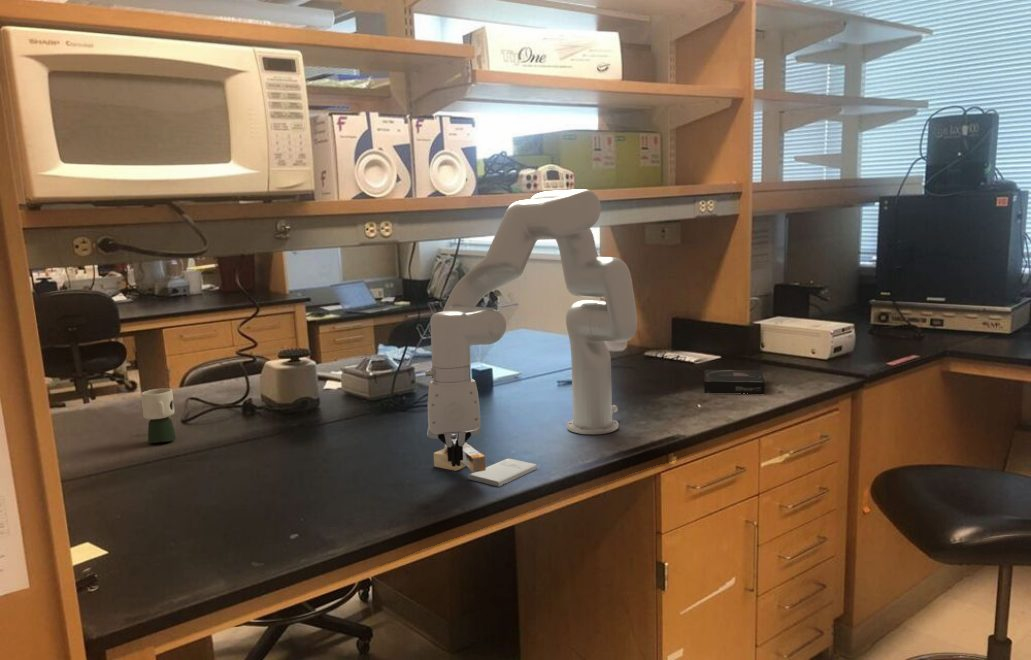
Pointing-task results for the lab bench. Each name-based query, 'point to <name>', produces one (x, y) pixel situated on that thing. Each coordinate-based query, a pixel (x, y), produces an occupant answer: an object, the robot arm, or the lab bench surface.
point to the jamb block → (445, 461)
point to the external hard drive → (503, 472)
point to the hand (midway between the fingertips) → (455, 464)
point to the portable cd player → (734, 381)
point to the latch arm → (470, 456)
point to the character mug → (159, 414)
